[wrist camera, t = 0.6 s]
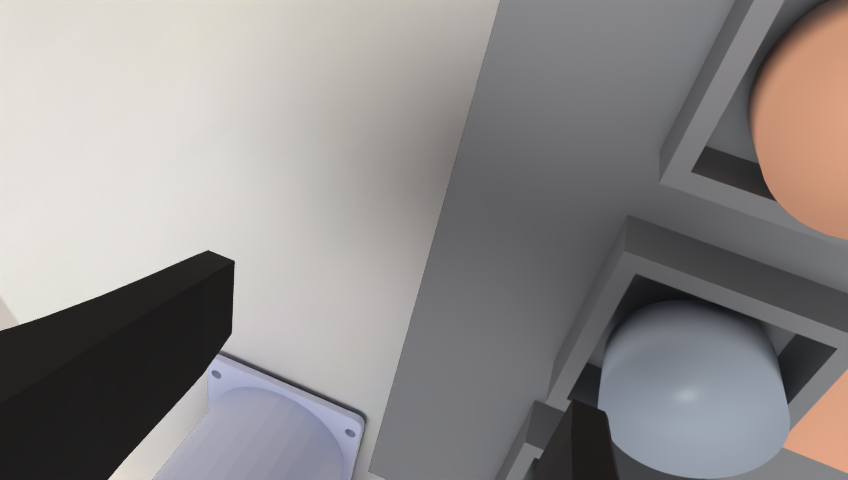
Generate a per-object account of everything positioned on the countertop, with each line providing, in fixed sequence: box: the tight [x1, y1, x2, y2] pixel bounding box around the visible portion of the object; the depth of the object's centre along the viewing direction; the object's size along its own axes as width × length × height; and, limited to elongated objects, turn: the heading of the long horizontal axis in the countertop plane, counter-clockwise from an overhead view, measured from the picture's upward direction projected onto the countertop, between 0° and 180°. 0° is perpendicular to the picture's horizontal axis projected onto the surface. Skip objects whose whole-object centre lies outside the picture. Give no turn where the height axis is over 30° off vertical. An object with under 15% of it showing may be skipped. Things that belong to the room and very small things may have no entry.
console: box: [368, 0, 848, 480], centre depth 18 cm, size 26×16×4 cm, turn 167°
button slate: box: [598, 299, 790, 479], centre depth 16 cm, size 4×4×2 cm
